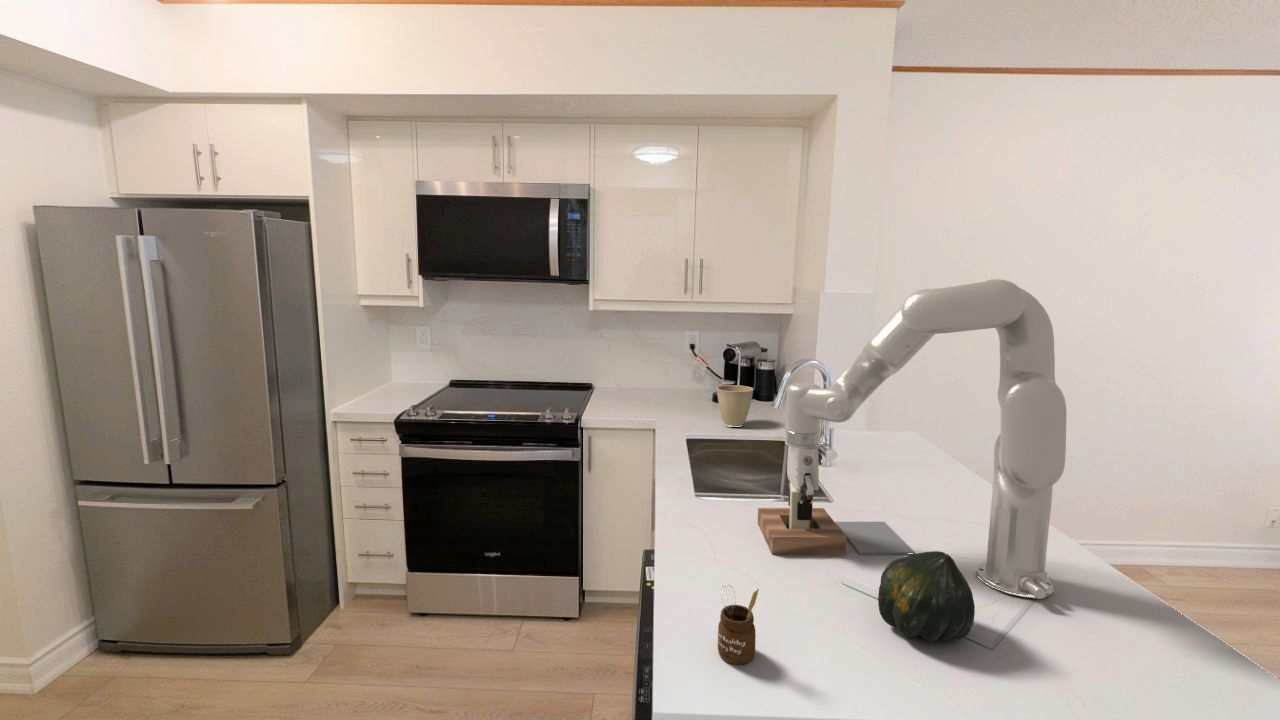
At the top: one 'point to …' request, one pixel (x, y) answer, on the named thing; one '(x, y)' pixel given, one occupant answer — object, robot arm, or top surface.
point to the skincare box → (793, 520)
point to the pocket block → (801, 533)
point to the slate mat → (873, 538)
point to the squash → (926, 597)
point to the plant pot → (734, 403)
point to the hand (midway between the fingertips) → (799, 512)
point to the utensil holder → (737, 632)
